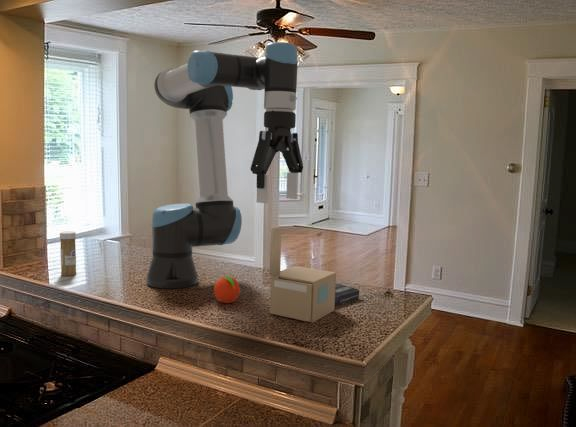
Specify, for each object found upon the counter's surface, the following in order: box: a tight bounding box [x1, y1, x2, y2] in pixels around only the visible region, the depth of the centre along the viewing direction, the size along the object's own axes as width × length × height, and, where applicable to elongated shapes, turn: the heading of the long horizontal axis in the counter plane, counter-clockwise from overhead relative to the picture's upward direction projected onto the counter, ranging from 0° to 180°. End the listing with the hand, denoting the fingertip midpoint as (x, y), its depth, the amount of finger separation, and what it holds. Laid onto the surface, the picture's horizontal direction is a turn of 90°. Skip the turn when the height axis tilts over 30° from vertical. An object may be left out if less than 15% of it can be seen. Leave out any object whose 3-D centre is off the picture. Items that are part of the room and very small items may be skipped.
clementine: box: [213, 275, 241, 304], centre depth 141 cm, size 8×7×7 cm
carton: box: [269, 265, 337, 324], centre depth 135 cm, size 12×12×10 cm
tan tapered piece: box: [269, 226, 312, 323], centre depth 129 cm, size 12×3×22 cm, turn 59°
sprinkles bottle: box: [59, 230, 77, 277], centre depth 166 cm, size 5×5×13 cm
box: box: [335, 283, 360, 307], centre depth 151 cm, size 14×4×20 cm
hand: (277, 200), depth 129 cm, fingers open, 13 cm apart
